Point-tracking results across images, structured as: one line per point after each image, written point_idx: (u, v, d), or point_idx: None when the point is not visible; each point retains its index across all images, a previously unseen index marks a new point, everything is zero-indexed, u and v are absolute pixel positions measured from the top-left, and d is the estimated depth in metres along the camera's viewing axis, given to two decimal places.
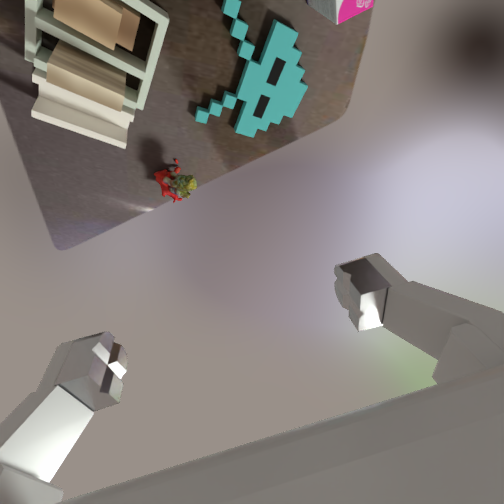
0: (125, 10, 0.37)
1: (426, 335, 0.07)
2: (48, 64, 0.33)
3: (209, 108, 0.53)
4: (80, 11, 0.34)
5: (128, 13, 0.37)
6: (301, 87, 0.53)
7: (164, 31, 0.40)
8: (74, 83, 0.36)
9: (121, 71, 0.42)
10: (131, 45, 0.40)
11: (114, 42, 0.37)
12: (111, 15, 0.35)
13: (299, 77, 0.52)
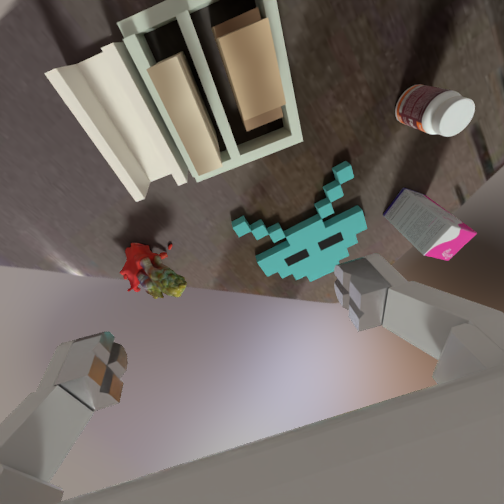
0: None
1: (426, 335, 0.07)
2: (174, 59, 0.20)
3: (253, 226, 0.43)
4: (252, 63, 0.24)
5: None
6: None
7: (290, 144, 0.33)
8: (180, 105, 0.21)
9: (215, 135, 0.31)
10: (252, 127, 0.31)
11: (253, 115, 0.27)
12: (276, 95, 0.26)
13: (341, 257, 0.50)
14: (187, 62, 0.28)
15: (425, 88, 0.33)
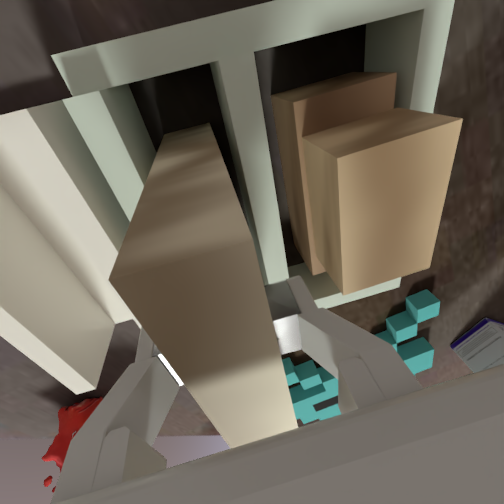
0: None
1: (334, 363, 0.07)
2: (242, 249, 0.05)
3: None
4: (394, 205, 0.11)
5: None
6: None
7: (377, 291, 0.19)
8: (226, 356, 0.06)
9: None
10: (323, 269, 0.17)
11: (363, 287, 0.13)
12: (417, 255, 0.13)
13: None
14: None
15: None
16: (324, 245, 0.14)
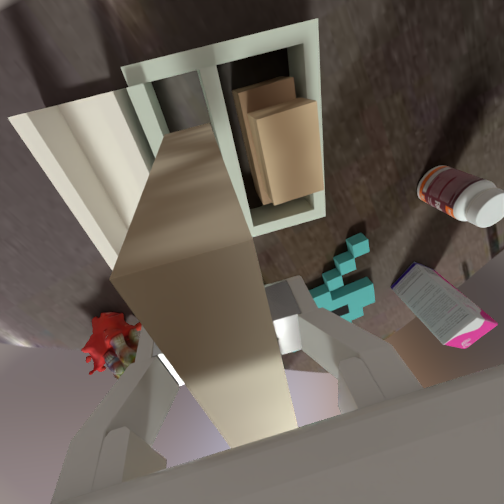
0: None
1: (334, 363, 0.07)
2: (242, 249, 0.05)
3: None
4: (292, 147, 0.20)
5: None
6: None
7: (311, 218, 0.28)
8: (226, 355, 0.06)
9: None
10: (270, 200, 0.26)
11: (285, 200, 0.23)
12: (314, 180, 0.22)
13: None
14: None
15: (454, 171, 0.30)
16: (264, 178, 0.23)
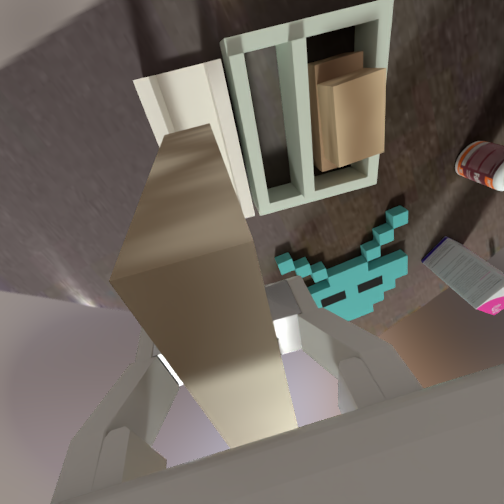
0: None
1: (334, 363, 0.07)
2: (242, 250, 0.05)
3: (297, 264, 0.40)
4: (360, 111, 0.23)
5: None
6: (369, 308, 0.49)
7: (363, 186, 0.31)
8: (226, 357, 0.06)
9: None
10: (328, 168, 0.29)
11: (349, 162, 0.26)
12: (376, 143, 0.25)
13: (376, 301, 0.48)
14: None
15: (493, 145, 0.33)
16: (329, 143, 0.26)
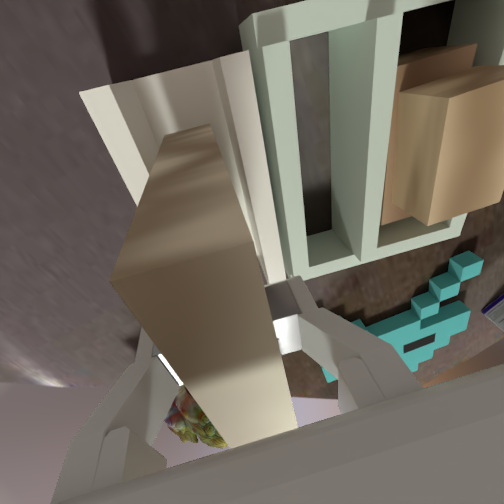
0: None
1: (334, 363, 0.07)
2: (242, 250, 0.05)
3: None
4: (482, 141, 0.13)
5: None
6: (413, 367, 0.39)
7: (441, 239, 0.21)
8: (226, 357, 0.06)
9: None
10: (391, 219, 0.20)
11: (444, 219, 0.16)
12: (492, 189, 0.15)
13: (423, 359, 0.38)
14: None
15: None
16: (409, 186, 0.16)
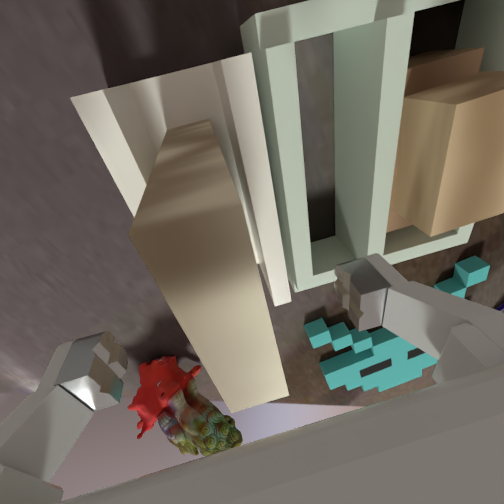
0: None
1: (426, 335, 0.07)
2: (233, 211, 0.06)
3: (334, 333, 0.30)
4: (489, 150, 0.13)
5: None
6: (417, 373, 0.39)
7: (448, 246, 0.21)
8: (222, 310, 0.07)
9: None
10: (392, 228, 0.19)
11: (447, 229, 0.15)
12: (497, 200, 0.15)
13: (427, 365, 0.38)
14: None
15: None
16: (411, 195, 0.16)
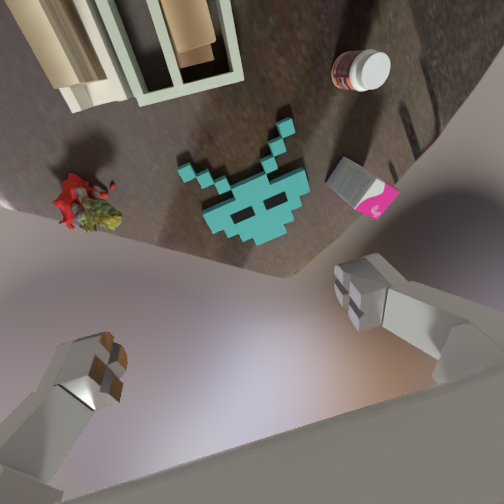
0: None
1: (426, 335, 0.07)
2: None
3: (199, 174, 0.44)
4: None
5: (208, 45, 0.33)
6: (282, 229, 0.53)
7: (232, 81, 0.35)
8: (22, 1, 0.22)
9: (99, 72, 0.32)
10: (184, 64, 0.33)
11: (186, 47, 0.30)
12: (206, 29, 0.29)
13: (286, 221, 0.52)
14: None
15: (354, 51, 0.37)
16: None
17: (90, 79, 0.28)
